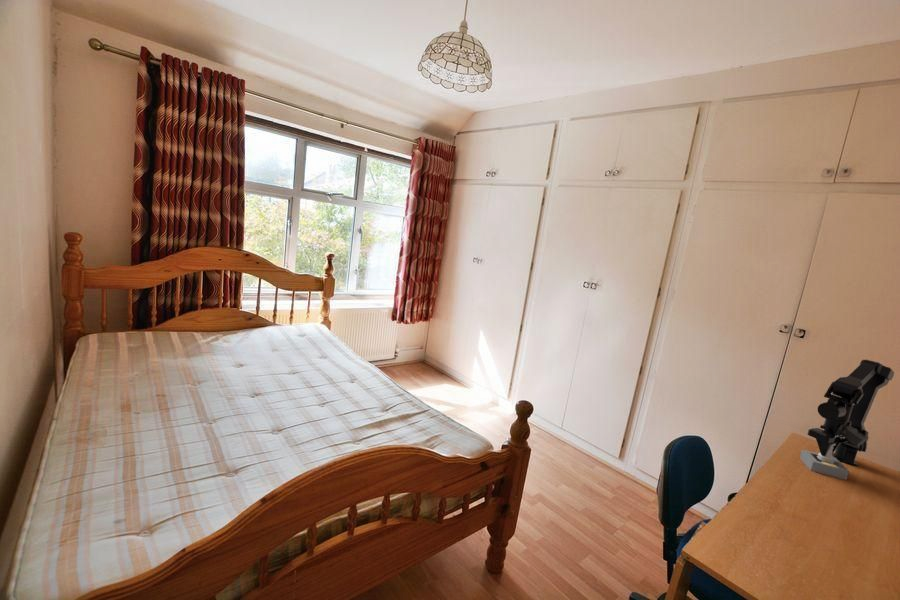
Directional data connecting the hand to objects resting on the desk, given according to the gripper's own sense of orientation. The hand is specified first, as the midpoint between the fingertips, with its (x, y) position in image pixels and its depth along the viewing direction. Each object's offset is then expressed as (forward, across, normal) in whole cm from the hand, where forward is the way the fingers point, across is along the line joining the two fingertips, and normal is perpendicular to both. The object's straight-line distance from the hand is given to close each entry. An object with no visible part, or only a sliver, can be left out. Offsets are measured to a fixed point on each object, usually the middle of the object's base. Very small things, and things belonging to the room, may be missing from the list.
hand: (826, 455), depth 146 cm
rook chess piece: (+2, 0, 0) cm, 2 cm away
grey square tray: (+5, 0, 0) cm, 5 cm away
